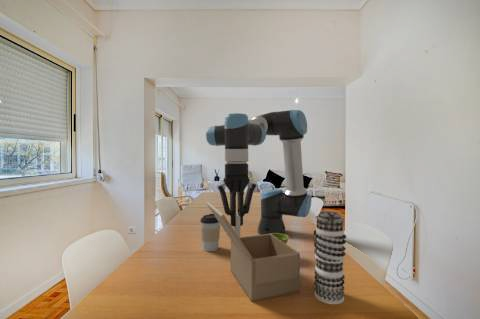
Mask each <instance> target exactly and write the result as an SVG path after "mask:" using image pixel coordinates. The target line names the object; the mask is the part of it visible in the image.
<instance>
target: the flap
mask: <svg viewBox="0 0 480 319" xmlns="http://www.w3.org/2000/svg"><path fill="white" fill-rule="evenodd" d="M205 204H206V206H207V207H208V208H209V210H210V212H211V214H214V216H215V217H216V219H217V220H218V222H219V223H220V227H222V229H223V230H224V232H225V233H226V235H227V236H228V237H229V239H230V241H231V240H232V241H233V242H234V243H235V244H236V245H237V246H238V247H239V249H240V250H241V251H242V252H243V253H244V254H245V255H246V256H247V257H248V258H249V259H252V256H251V255H250V253H249V252H248V250H247V249H246V247H245V246H244V244H243V243H242V241H241V240H240V238H239V237H238V235H237V234H236V232H235V231H234V227H233V226H231V222H230V221H228V219H227V217H226V216H225V214H224V213H223V212H221V211H220V210H219V209H218V208H216V207H215V206H214V205H213V204H212V203H210V202H209V201H207V202H205Z"/></svg>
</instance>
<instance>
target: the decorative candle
mask: <svg viewBox="0 0 480 319" xmlns="http://www.w3.org/2000/svg"><path fill="white" fill-rule="evenodd" d="M315 219H316V226H315V229H314V231H313V235H314V237H313V246H314V257H315V262H316V264H315V269H314V282H313V285H314V287H313V288H314V289H313V290H314V297H315V298H316V299H317V300H318V301H320V302H322V303H324V304H328V305H340V304H342V303H344V301H345V297H344V296H345V286H344V285H345V274H344V267H343V266H344V262H345V259H346V258H345V256H346V252H345V251H346V247H345V246H344V245H345V244H346V243H347V241H346V238H347V235H346V234H345V229H344V221H345V218H343V217H342V216H341V214H340V213H339V212H335V211H330V210H329V211H320V212H319V213H318V215H315Z"/></svg>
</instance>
